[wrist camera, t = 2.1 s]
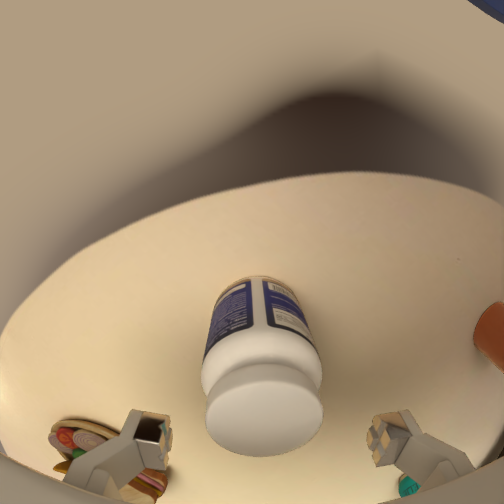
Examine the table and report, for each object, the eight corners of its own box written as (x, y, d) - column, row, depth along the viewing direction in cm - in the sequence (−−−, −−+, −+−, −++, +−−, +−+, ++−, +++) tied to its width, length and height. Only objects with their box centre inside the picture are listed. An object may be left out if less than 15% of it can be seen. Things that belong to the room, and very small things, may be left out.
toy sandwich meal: (73, 395, 22) (52, 428, 18) (188, 468, 25) (182, 503, 20) (44, 437, 25) (29, 462, 20) (135, 495, 27) (127, 522, 22)
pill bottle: (220, 353, 21) (205, 466, 11) (207, 278, 19) (173, 375, 10) (301, 345, 21) (332, 455, 11) (298, 269, 19) (341, 359, 10)
